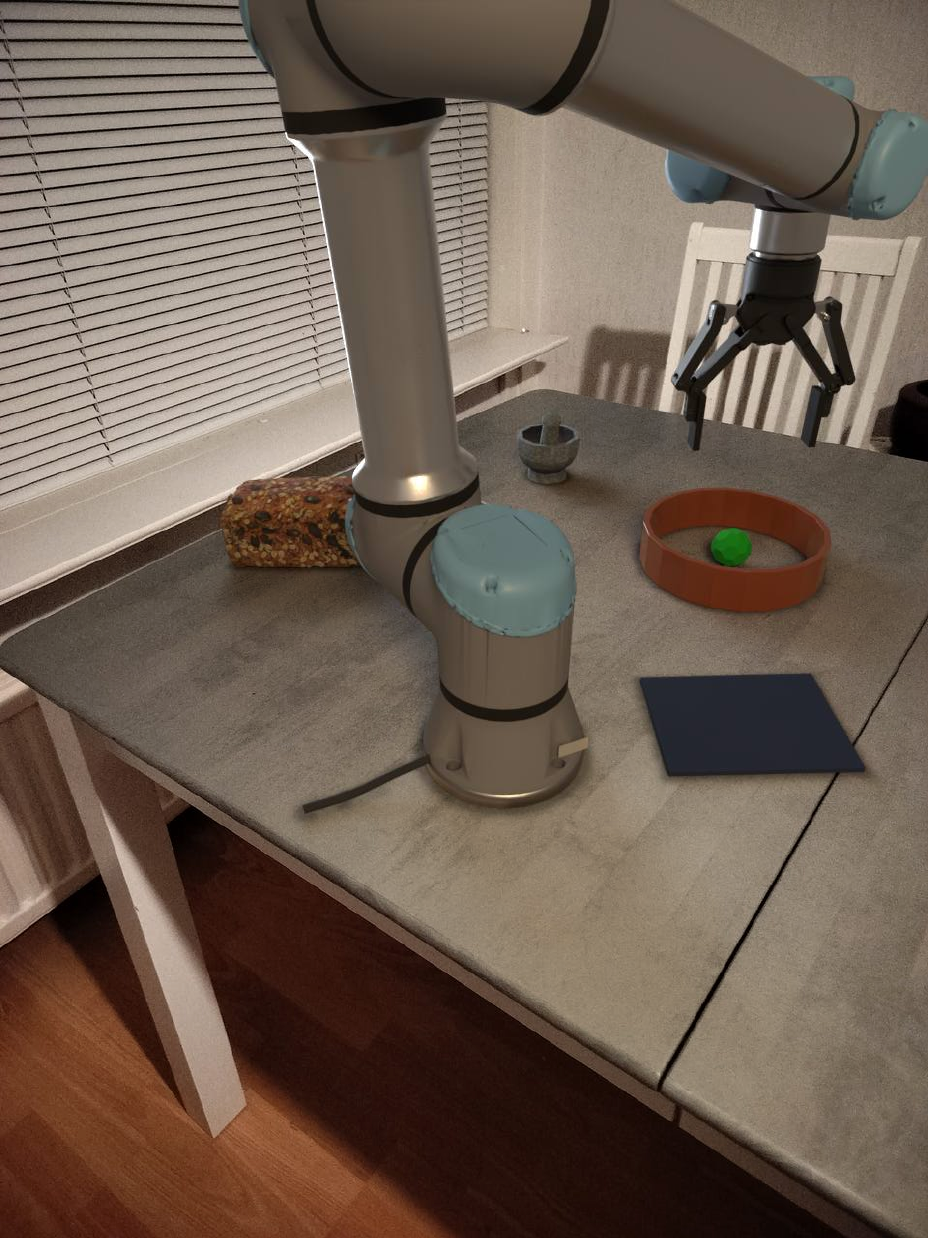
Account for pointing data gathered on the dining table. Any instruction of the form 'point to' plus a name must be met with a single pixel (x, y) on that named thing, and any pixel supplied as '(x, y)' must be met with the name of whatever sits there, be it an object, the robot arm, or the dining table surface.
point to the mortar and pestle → (548, 448)
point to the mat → (747, 726)
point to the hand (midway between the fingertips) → (750, 444)
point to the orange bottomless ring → (729, 583)
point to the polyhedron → (731, 547)
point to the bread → (289, 522)
